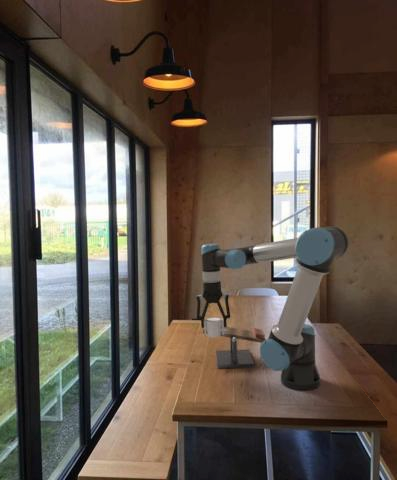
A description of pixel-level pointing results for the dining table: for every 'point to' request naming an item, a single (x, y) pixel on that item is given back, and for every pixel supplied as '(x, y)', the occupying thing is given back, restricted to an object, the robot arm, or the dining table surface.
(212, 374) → the dining table surface
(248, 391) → the dining table surface
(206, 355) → the dining table surface
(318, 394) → the dining table surface
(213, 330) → the shot glass
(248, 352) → the stand
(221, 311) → the robot arm
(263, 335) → the beam
